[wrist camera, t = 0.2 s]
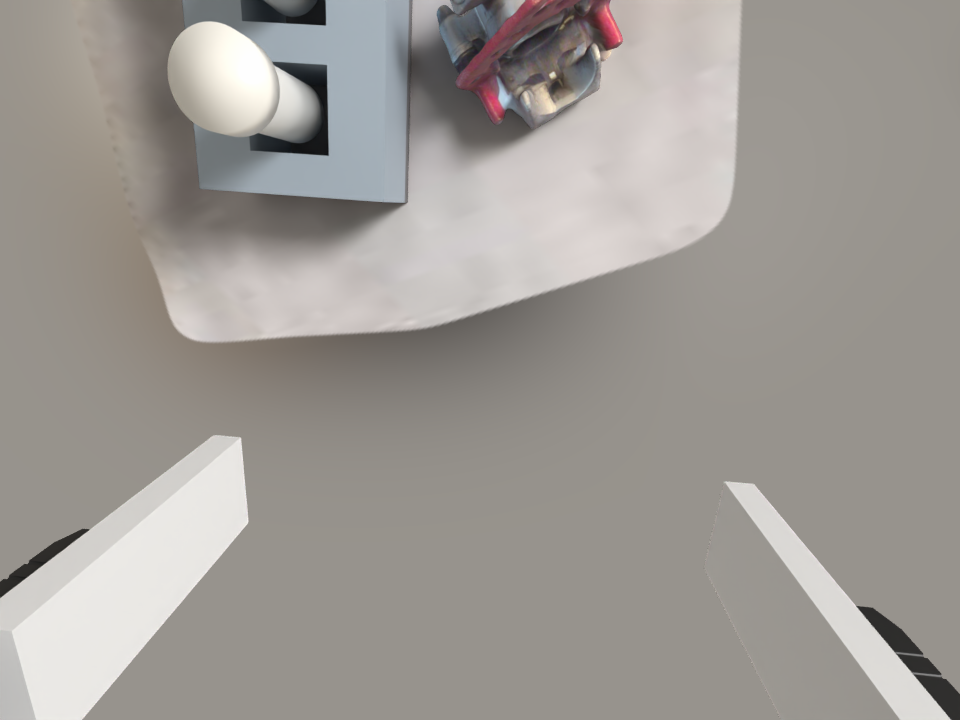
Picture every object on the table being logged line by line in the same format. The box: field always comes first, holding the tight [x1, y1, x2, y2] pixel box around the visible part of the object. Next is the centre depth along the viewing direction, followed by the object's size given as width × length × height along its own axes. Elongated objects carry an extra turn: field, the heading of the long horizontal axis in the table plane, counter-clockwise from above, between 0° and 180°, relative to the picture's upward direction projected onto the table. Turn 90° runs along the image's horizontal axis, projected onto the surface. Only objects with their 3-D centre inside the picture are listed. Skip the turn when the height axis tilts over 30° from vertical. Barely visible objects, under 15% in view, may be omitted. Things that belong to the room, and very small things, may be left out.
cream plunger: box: [167, 21, 324, 143], centre depth 27 cm, size 5×5×9 cm
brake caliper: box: [437, 0, 623, 129], centre depth 31 cm, size 11×11×12 cm
